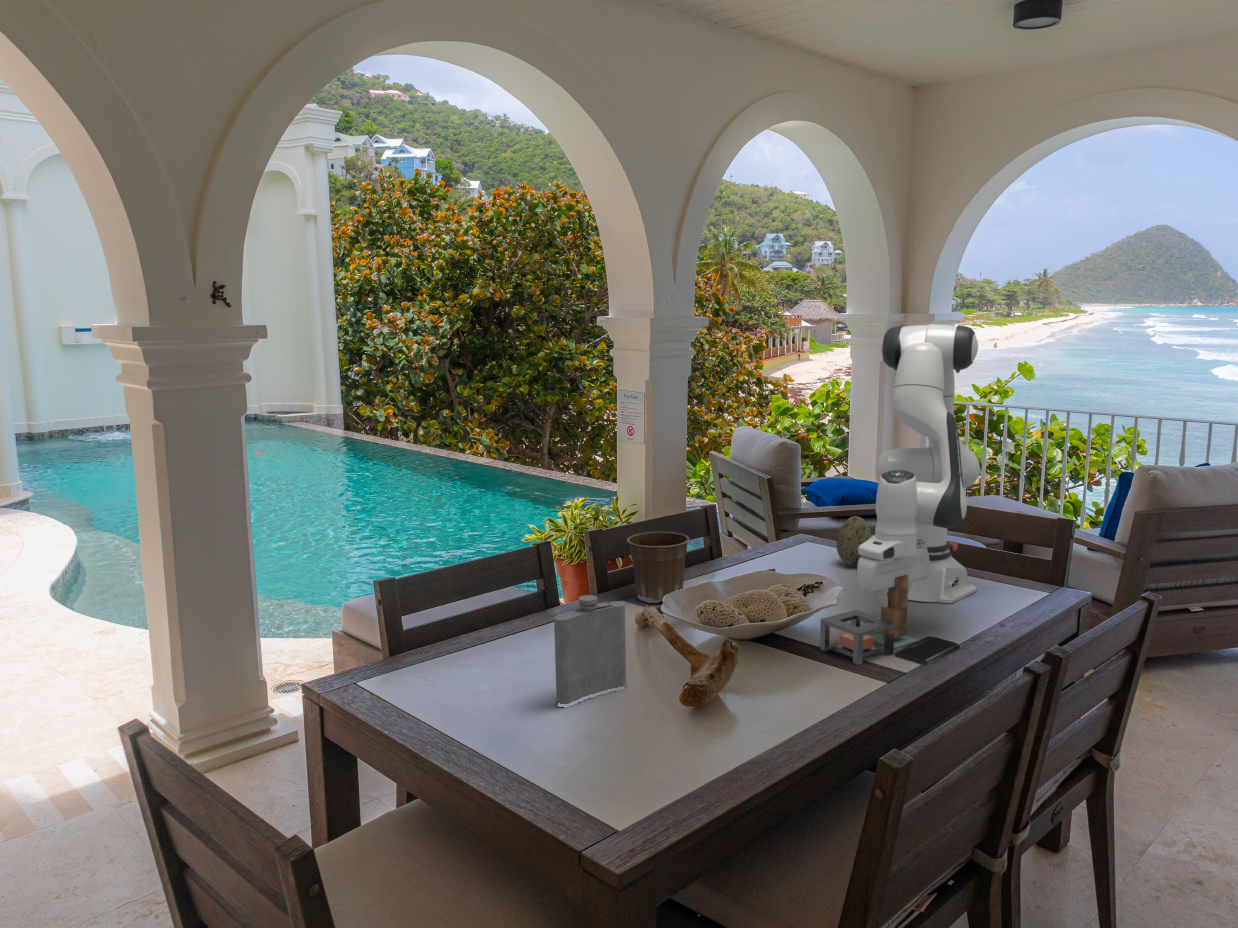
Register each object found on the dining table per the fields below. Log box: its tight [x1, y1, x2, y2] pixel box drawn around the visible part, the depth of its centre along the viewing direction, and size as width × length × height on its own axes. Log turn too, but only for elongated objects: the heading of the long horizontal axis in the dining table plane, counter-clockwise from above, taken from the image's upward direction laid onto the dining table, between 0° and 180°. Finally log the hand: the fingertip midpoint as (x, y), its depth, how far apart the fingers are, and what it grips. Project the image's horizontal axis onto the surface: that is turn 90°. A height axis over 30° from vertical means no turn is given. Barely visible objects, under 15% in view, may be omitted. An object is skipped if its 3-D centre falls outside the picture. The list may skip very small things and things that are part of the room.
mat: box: [871, 632, 920, 651], centre depth 199 cm, size 8×8×1 cm
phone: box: [894, 635, 961, 666], centre depth 192 cm, size 8×1×15 cm
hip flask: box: [553, 594, 627, 704], centre depth 171 cm, size 16×4×20 cm, turn 127°
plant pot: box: [626, 531, 690, 600], centre depth 232 cm, size 16×16×16 cm
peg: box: [879, 575, 909, 639], centre depth 197 cm, size 4×4×14 cm
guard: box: [819, 609, 895, 666], centre depth 192 cm, size 11×11×7 cm
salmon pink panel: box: [838, 632, 875, 650], centre depth 192 cm, size 5×5×2 cm
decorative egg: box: [836, 515, 874, 568], centre depth 258 cm, size 11×11×15 cm
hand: (893, 604), depth 197 cm, fingers closed on peg, 4 cm apart
